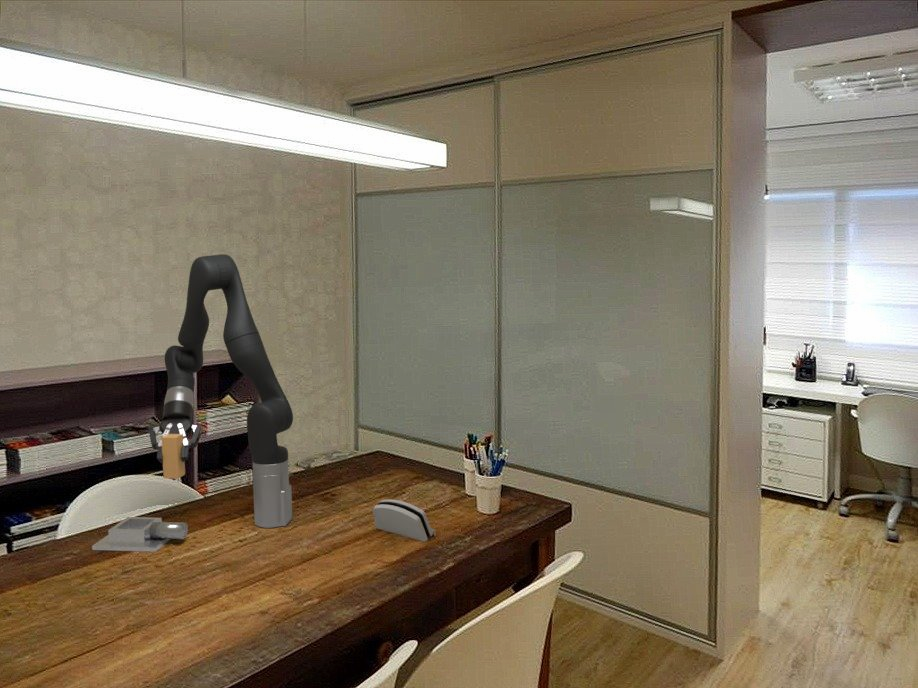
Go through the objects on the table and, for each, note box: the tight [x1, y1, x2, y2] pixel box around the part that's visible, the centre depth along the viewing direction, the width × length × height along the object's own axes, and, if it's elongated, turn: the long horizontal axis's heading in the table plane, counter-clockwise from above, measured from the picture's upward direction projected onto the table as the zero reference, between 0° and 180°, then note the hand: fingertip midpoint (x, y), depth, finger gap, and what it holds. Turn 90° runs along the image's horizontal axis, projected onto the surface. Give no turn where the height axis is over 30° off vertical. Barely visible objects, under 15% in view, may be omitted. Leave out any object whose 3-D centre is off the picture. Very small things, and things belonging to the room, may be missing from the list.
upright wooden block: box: [160, 434, 186, 480], centre depth 188 cm, size 4×4×11 cm
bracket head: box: [91, 516, 189, 553], centre depth 179 cm, size 20×12×5 cm, turn 86°
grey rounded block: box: [372, 498, 437, 543], centre depth 184 cm, size 17×5×10 cm, turn 56°
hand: (172, 460), depth 186 cm, fingers closed on upright wooden block, 5 cm apart
